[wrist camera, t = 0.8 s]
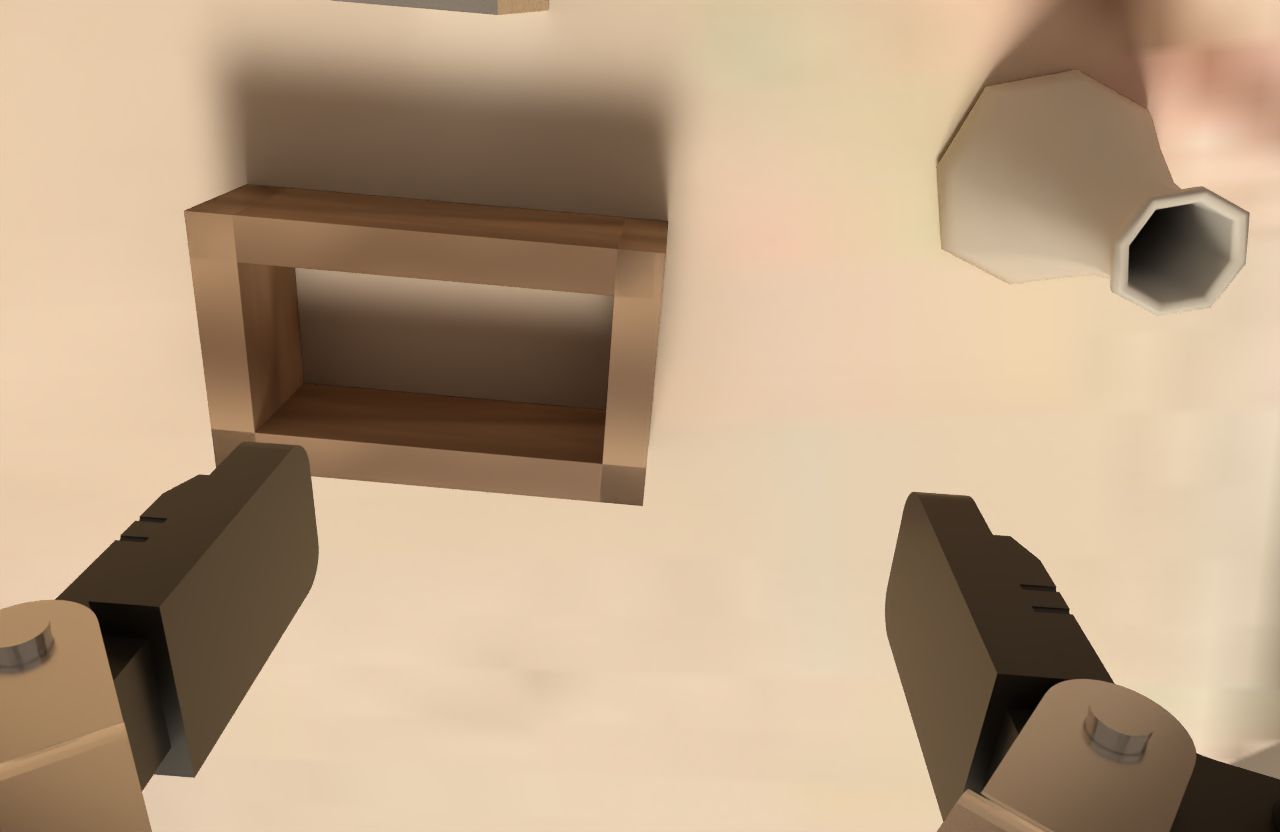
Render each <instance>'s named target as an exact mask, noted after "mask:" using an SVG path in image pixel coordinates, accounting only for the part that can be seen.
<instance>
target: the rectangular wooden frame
mask: <svg viewBox="0 0 1280 832" xmlns="http://www.w3.org/2000/svg"><path fill="white" fill-rule="evenodd" d="M184 215H185V223H186V231H187V239H188V247H189V255H190V263H191V271H192V279H193V287H194V295H195V303H196V311H197V318H198V326H199V334H200V342H201V350H202V358H203V366H204V374H205V382H206V390H207V398H208V406H209V414H210V422H211V430H212V438H213V446H214V454H215V462H216V468H217V467H218V466H219V465H220V464H221V463H222V462H223V460H224V459H225V458H226V457H227V456H228V455H229V454H230V453H231V452H232V451H233V450H234V449H235V448H236V447H237V446H238V445H239V444H240V443H242V442H260V443H274V444H287V445H300V446H302V447H303V448H304V449H305V451H306V452H307V455H308V458H309V464H310V472H311V476H316V477H327V478H338V479H349V480H360V481H371V482H382V483H393V484H405V485H416V486H427V487H438V488H449V489H460V490H471V491H482V492H493V493H504V494H516V495H527V496H538V497H549V498H560V499H571V500H582V501H593V502H604V503H615V504H627V505H638V506H643V497H644V486H645V475H646V464H647V453H648V443H649V432H650V421H651V410H652V399H653V388H654V377H655V366H656V356H657V345H658V334H659V323H660V312H661V301H662V290H663V280H664V269H665V258H666V245H667V230H668V221H656V220H645V219H634V218H622V217H611V216H600V215H588V214H577V213H566V212H554V211H543V210H531V209H520V208H509V207H497V206H486V205H475V204H463V203H452V202H441V201H429V200H418V199H407V198H395V197H384V196H373V195H361V194H350V193H339V192H327V191H316V190H305V189H293V188H282V187H271V186H259V185H248V184H246V185H244V186H241V187H239V188H237V189H234V190H232V191H230V192H227V193H225V194H223V195H220V196H218V197H216V198H213V199H211V200H208V201H206V202H204V203H201V204H199V205H197V206H194V207H192V208H190V209H187V210H185V211H184ZM295 268H306V269H318V270H329V271H340V272H352V273H363V274H374V275H385V276H397V277H408V278H419V279H431V280H442V281H453V282H464V283H476V284H487V285H498V286H509V287H521V288H532V289H543V290H555V291H566V292H577V293H588V294H600V295H611V296H614V307H613V322H612V336H611V350H610V365H609V379H608V393H607V408H606V410H597V409H586V408H575V407H564V406H553V405H541V404H530V403H519V402H508V401H497V400H486V399H474V398H463V397H452V396H441V395H430V394H418V393H407V392H396V391H385V390H374V389H363V388H351V387H340V386H329V385H318V384H307V383H304V381H303V368H302V355H301V342H300V329H299V316H298V304H297V291H296V278H295Z"/></svg>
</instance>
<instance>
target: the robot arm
mask: <svg viewBox="0 0 1280 832" xmlns="http://www.w3.org/2000/svg"><path fill="white" fill-rule="evenodd" d="M318 554H319V546H318V536H317V527H316V517H315V508H314V499H313V490H312V481H311V472H310V464H309V458H308V455H307V452H306V451H305V449H304V448H303V447H302V446H300V445H287V444H274V443H260V442H242V443H240V444H239V445H238V446H237V447H236V448H235V449H234V450H233V451H232V452H231V453H230V454H229V455H228V456H227V457H226V458H225V459H224V460H223V462H222V463H221V464H220V465H219V466H218V467H217V468H216V469H215V470H214V471H213V472H212V473H211V474H210V475H197V476H195V477H194V478H192V479H190V480H188V481H186V482H184V483H182V484H180V485H178V486H176V487H174V488H173V489H171V490H169V491H167V492H165V493H163V494H162V495H161V496H160V497H159V498H158V499H157V500H156V501H155V502H154V503H153V504H152V505H151V506H150V507H149V508H148V509H147V510H146V511H145V512H144V513H143V514H142V515H141V516H140V520H139V521H135V522H134V523H133V524H132V525H131V526H130V527H129V528H128V529H127V530H125V531H124V532H123V533H122V534H121V538H120V541H118V540H115V541H114V542H113V543H112V544H111V545H110V546H109V547H108V548H107V549H106V550H105V551H104V552H103V553H102V554H101V555H100V556H99V557H98V558H97V559H96V560H95V561H94V562H93V563H92V564H91V565H90V566H89V567H88V568H87V569H86V570H85V571H84V572H83V573H82V574H81V575H80V576H79V577H78V578H77V579H76V580H75V581H74V582H73V583H72V584H71V585H70V586H69V587H68V588H67V589H66V590H64V591H63V592H62V593H61V594H60V595H59V596H58V597H57V598H56V599H55V600H41V601H34V602H27V603H22V604H18V605H14V606H10V607H7V608H4V609H1V610H0V832H152V830H151V826H150V822H149V818H148V814H147V810H146V806H145V802H144V798H143V794H142V791H143V789H144V788H145V786H146V785H147V783H148V782H149V780H150V779H151V777H152V776H153V774H156V775H169V776H181V777H194V778H195V776H196V774H197V773H198V771H199V770H200V768H201V766H202V765H203V763H204V761H205V760H206V758H207V757H208V755H209V753H210V752H211V750H212V749H213V747H214V745H215V744H216V742H217V740H218V739H219V737H220V736H221V734H222V732H223V731H224V729H225V727H226V726H227V724H228V723H229V721H230V719H231V718H232V716H233V714H234V713H235V711H236V710H237V708H238V706H239V705H240V703H241V701H242V700H243V698H244V697H245V695H246V693H247V692H248V690H249V689H250V687H251V685H252V684H253V682H254V680H255V679H256V677H257V676H258V674H259V672H260V671H261V669H262V667H263V666H264V664H265V663H266V661H267V659H268V658H269V656H270V654H271V653H272V651H273V650H274V648H275V646H276V645H277V643H278V641H279V640H280V638H281V637H282V635H283V633H284V632H285V630H286V629H287V627H288V625H289V624H290V622H291V620H292V619H293V617H294V616H295V614H296V612H297V611H298V609H299V607H300V606H301V604H302V603H303V601H304V599H305V598H306V596H307V594H308V593H309V591H310V589H311V587H312V584H313V581H314V578H315V575H316V570H317V564H318ZM885 621H886V631H887V636H888V640H889V643H890V646H891V650H892V653H893V656H894V660H895V663H896V666H897V669H898V673H899V676H900V679H901V683H902V686H903V689H904V693H905V696H906V699H907V703H908V706H909V709H910V713H911V716H912V719H913V722H914V726H915V729H916V732H917V736H918V739H919V742H920V746H921V749H922V752H923V756H924V759H925V762H926V766H927V769H928V772H929V775H930V779H931V782H932V785H933V789H934V792H935V795H936V799H937V802H938V805H939V809H940V812H941V815H942V819H943V823H942V825H941V826H940V828H939V829H938V831H937V832H1280V780H1279V779H1276V778H1273V777H1269V776H1266V775H1263V774H1259V773H1256V772H1252V771H1249V770H1246V769H1243V768H1239V767H1236V766H1233V765H1229V764H1226V763H1223V762H1219V761H1216V760H1213V759H1210V758H1207V757H1205V756H1202V755H1199V754H1197V753H1196V749H1195V746H1194V743H1193V741H1192V739H1191V737H1190V735H1189V734H1188V732H1187V730H1186V729H1185V728H1184V727H1183V726H1182V725H1181V723H1180V722H1179V721H1178V720H1177V719H1176V718H1175V717H1174V716H1173V715H1171V714H1170V713H1169V712H1168V711H1167V710H1165V709H1164V708H1163V707H1161V706H1160V705H1159V704H1157V703H1155V702H1154V701H1152V700H1150V699H1149V698H1147V697H1145V696H1143V695H1141V694H1139V693H1137V692H1135V691H1133V690H1130V689H1128V688H1125V687H1123V686H1119V685H1116V684H1114V682H1113V680H1112V679H1111V677H1110V675H1109V674H1108V672H1107V670H1106V669H1105V667H1104V665H1103V664H1102V662H1101V660H1100V659H1099V657H1098V655H1097V654H1096V652H1095V650H1094V649H1093V647H1092V645H1091V644H1090V642H1089V641H1088V639H1087V637H1086V636H1085V634H1084V632H1083V631H1082V629H1081V627H1080V626H1079V624H1078V622H1077V621H1076V619H1075V617H1074V616H1073V615H1071V614H1069V607H1068V606H1067V604H1066V602H1065V601H1064V599H1063V597H1062V596H1061V594H1060V592H1056V586H1055V584H1054V582H1053V581H1052V579H1051V577H1050V576H1049V574H1048V572H1047V571H1046V569H1045V567H1044V566H1043V564H1042V563H1041V561H1040V560H1039V559H1038V558H1037V557H1035V556H1034V555H1033V554H1032V553H1030V552H1029V551H1028V550H1027V549H1025V548H1024V547H1023V546H1022V545H1020V544H1019V543H1018V542H1017V541H1015V540H1014V539H1013V538H1012V537H1011V536H1000V535H992V533H991V531H990V529H989V527H988V525H987V524H986V522H985V520H984V518H983V516H982V514H981V513H980V511H979V509H978V507H977V505H976V503H975V502H974V500H973V499H972V498H971V497H970V496H963V495H949V494H936V493H922V492H912V493H911V494H910V495H909V496H908V498H907V500H906V503H905V507H904V511H903V515H902V520H901V525H900V530H899V534H898V539H897V544H896V549H895V553H894V558H893V563H892V567H891V572H890V577H889V582H888V587H887V592H886V602H885Z"/></svg>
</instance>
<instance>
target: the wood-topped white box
mask: <svg viewBox="0 0 1280 832" xmlns="http://www.w3.org/2000/svg"><path fill="white" fill-rule="evenodd" d="M333 1H344V2H356V3H367V4H379V5H390V6H402V7H413V8H425V9H436V10H448V11H459V12H471V13H482V14H494V15H501V14H513V13H524V12H535V11H546V10H548V7H549V0H333Z"/></svg>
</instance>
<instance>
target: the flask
mask: <svg viewBox="0 0 1280 832" xmlns="http://www.w3.org/2000/svg"><path fill="white" fill-rule="evenodd" d="M937 183H938V200H939V217H940V234H941V249H943V250H945V251H947V252H949V253H951V254H953V255H954V256H956V257H958V258H960V259H962V260H964V261H966V262H968V263H970V264H972V265H974V266H976V267H977V268H979V269H981V270H983V271H985V272H987V273H989V274H991V275H993V276H995V277H997V278H999V279H1001V280H1002V281H1004V282H1006V283H1008V284H1020V283H1027V282H1034V281H1041V280H1048V279H1056V278H1070V277H1084V276H1099V277H1103V278H1107V279H1110V288H1111V291H1112V292H1113V293H1115V294H1117V295H1119V296H1121V297H1123V298H1124V299H1126V300H1128V301H1130V302H1132V303H1134V304H1136V305H1138V306H1140V307H1141V308H1143V309H1145V310H1147V311H1149V312H1151V313H1153V314H1155V315H1156V316H1162V315H1168V314H1174V313H1181V312H1187V311H1193V310H1200V309H1206V308H1211V307H1212V305H1213V304H1214V303H1215V302H1216V300H1217V299H1218V298H1219V297H1220V295H1221V294H1222V293H1223V291H1224V290H1225V289H1226V288H1227V286H1228V285H1229V284H1230V283H1231V281H1232V280H1233V279H1234V278H1235V276H1236V275H1237V274H1238V273H1239V271H1240V270H1241V269H1242V268H1243V266H1244V265H1245V264H1246V252H1247V239H1248V226H1249V212H1247V211H1246V210H1244V209H1242V208H1240V207H1238V206H1237V205H1235V204H1233V203H1231V202H1230V201H1228V200H1226V199H1224V198H1222V197H1221V196H1219V195H1217V194H1215V193H1214V192H1212V191H1210V190H1208V189H1206V188H1204V187H1193V188H1187V189H1180V188H1179V187H1178V186H1177V185H1176V184H1175V183H1174V182H1173V179H1172V177H1171V174H1170V172H1169V169H1168V167H1167V164H1166V162H1165V159H1164V157H1163V154H1162V152H1161V149H1160V146H1159V142H1158V138H1157V134H1156V131H1155V127H1154V123H1153V120H1152V117H1151V115H1150V112H1149V110H1147V109H1145V108H1144V107H1142V106H1140V105H1138V104H1137V103H1135V102H1133V101H1131V100H1130V99H1128V98H1126V97H1124V96H1123V95H1121V94H1119V93H1117V92H1115V91H1114V90H1112V89H1110V88H1108V87H1107V86H1105V85H1103V84H1101V83H1100V82H1098V81H1096V80H1094V79H1093V78H1091V77H1089V76H1087V75H1086V74H1084V73H1082V72H1080V71H1079V70H1077V69H1076V70H1071V71H1066V72H1060V73H1055V74H1050V75H1044V76H1039V77H1034V78H1029V79H1023V80H1018V81H1013V82H1008V83H1002V84H997V85H992V86H987V87H985V89H984V91H983V92H982V94H981V95H980V97H979V99H978V100H977V102H976V104H975V105H974V107H973V108H972V110H971V112H970V113H969V115H968V117H967V118H966V120H965V121H964V123H963V125H962V126H961V128H960V129H959V131H958V133H957V134H956V136H955V138H954V139H953V141H952V142H951V144H950V146H949V147H948V149H947V151H946V152H945V154H944V155H943V157H942V159H941V160H940V162H939V164H938V165H937Z"/></svg>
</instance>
